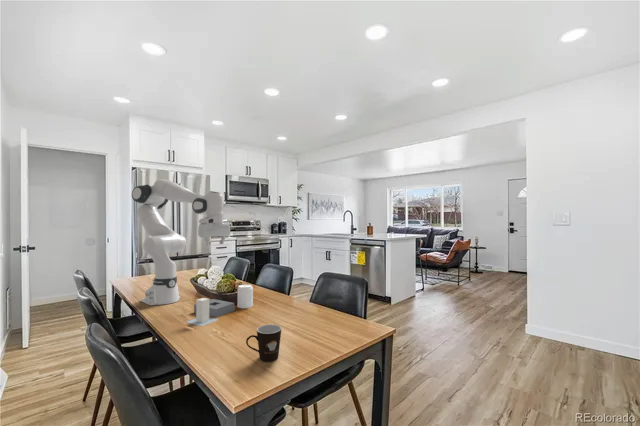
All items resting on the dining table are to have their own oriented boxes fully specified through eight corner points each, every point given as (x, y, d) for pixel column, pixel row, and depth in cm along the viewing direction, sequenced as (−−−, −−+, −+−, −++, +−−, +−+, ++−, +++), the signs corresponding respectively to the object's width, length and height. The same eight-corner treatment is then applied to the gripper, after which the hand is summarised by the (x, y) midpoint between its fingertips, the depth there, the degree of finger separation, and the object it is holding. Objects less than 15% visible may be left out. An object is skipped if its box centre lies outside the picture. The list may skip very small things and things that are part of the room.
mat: (185, 324, 137) (185, 322, 137) (203, 317, 146) (203, 315, 146) (201, 328, 132) (201, 326, 132) (219, 321, 141) (219, 319, 141)
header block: (193, 314, 152) (194, 304, 152) (212, 308, 162) (212, 299, 162) (216, 319, 144) (216, 309, 144) (234, 312, 154) (234, 302, 154)
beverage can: (254, 305, 166) (254, 284, 167) (249, 310, 158) (250, 287, 159) (240, 305, 167) (240, 284, 167) (235, 309, 159) (235, 287, 159)
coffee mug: (282, 351, 109) (282, 324, 109) (280, 363, 100) (280, 333, 100) (250, 352, 108) (250, 324, 109) (245, 363, 100) (245, 333, 100)
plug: (196, 321, 138) (196, 299, 138) (203, 318, 142) (203, 297, 142) (202, 322, 136) (202, 300, 137) (209, 320, 140) (209, 298, 140)
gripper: (225, 220, 179) (225, 243, 178) (196, 220, 161) (196, 245, 160) (232, 220, 176) (232, 243, 175) (204, 220, 158) (204, 246, 157)
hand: (215, 244), depth 168 cm, fingers open, 8 cm apart
